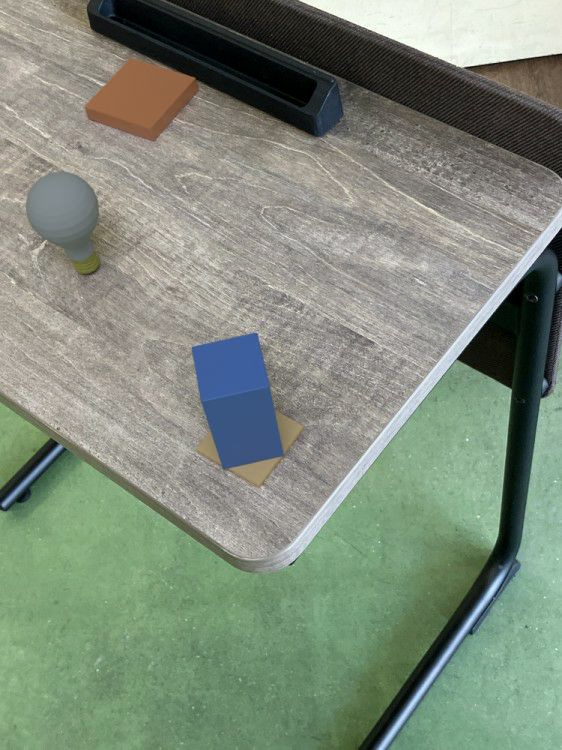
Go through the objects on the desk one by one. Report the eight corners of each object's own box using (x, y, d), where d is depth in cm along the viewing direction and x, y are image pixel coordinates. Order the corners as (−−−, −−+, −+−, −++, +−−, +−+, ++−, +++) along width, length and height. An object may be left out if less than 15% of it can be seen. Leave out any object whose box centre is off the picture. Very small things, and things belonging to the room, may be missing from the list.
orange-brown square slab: (134, 70, 93) (130, 57, 92) (198, 90, 91) (195, 77, 89) (88, 118, 90) (83, 106, 89) (153, 141, 87) (150, 128, 86)
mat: (242, 394, 71) (241, 392, 70) (304, 428, 69) (303, 425, 68) (196, 451, 68) (195, 448, 68) (259, 488, 66) (258, 485, 66)
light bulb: (48, 259, 80) (8, 172, 72) (109, 235, 81) (76, 147, 73) (66, 304, 77) (26, 219, 69) (129, 279, 78) (96, 192, 70)
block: (213, 418, 69) (191, 346, 62) (272, 405, 70) (257, 331, 62) (223, 470, 67) (201, 401, 59) (284, 456, 67) (269, 386, 60)
